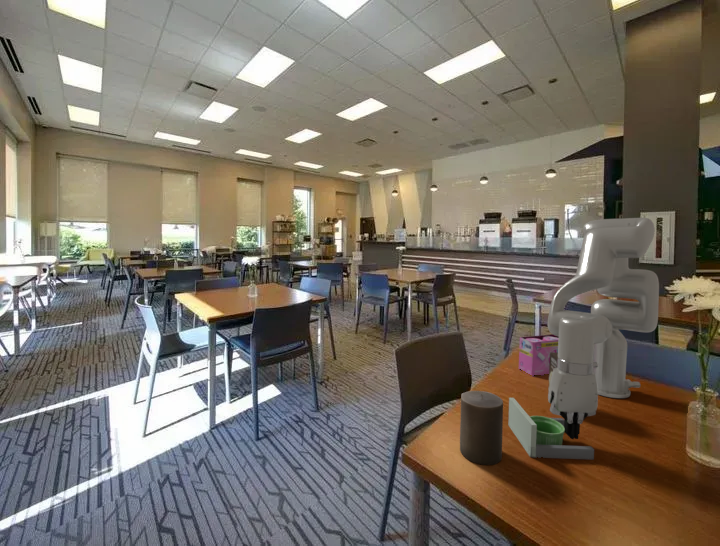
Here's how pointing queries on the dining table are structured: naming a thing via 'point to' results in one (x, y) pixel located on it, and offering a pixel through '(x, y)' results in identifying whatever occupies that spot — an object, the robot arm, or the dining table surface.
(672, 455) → the dining table surface
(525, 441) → the display stand
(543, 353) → the gum box
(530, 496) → the dining table surface
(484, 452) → the pillar candle
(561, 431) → the ramekin
